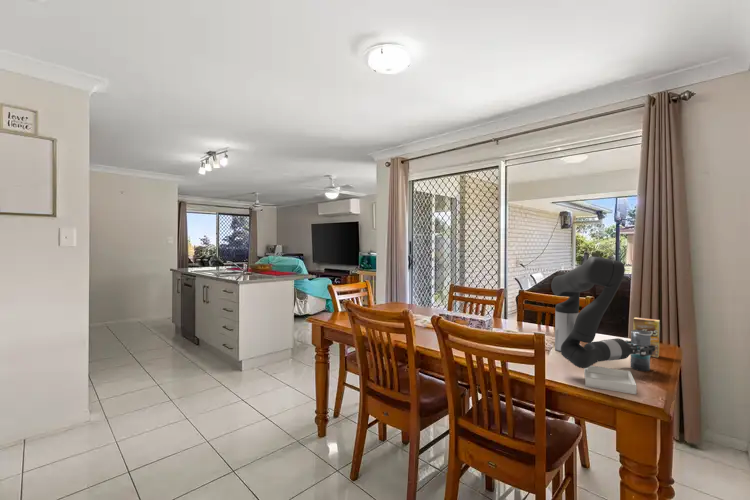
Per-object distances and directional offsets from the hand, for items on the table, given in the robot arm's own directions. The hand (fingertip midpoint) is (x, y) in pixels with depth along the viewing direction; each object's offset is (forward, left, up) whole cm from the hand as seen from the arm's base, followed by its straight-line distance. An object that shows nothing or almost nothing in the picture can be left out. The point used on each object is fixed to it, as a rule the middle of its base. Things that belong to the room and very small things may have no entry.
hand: (645, 345), depth 139 cm
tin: (-2, -2, -9) cm, 9 cm away
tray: (-14, -24, -9) cm, 29 cm away
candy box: (+3, +19, -9) cm, 21 cm away
